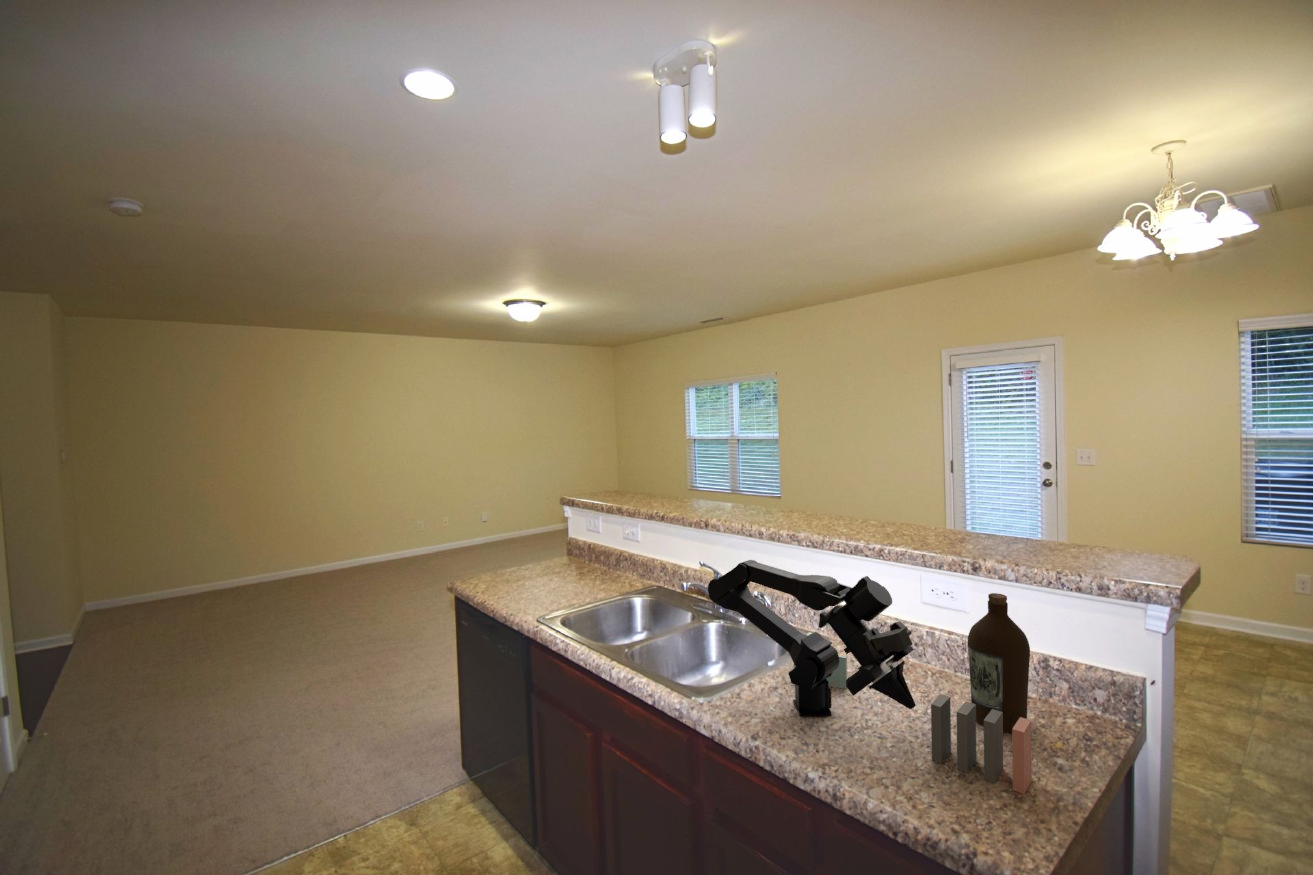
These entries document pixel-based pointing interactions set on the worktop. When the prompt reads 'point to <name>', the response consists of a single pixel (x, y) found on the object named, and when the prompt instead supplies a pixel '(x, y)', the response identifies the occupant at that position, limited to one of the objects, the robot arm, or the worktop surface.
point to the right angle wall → (838, 673)
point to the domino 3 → (993, 745)
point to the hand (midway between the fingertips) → (913, 707)
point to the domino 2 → (966, 737)
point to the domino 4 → (1022, 755)
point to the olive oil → (999, 665)
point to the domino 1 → (941, 728)
